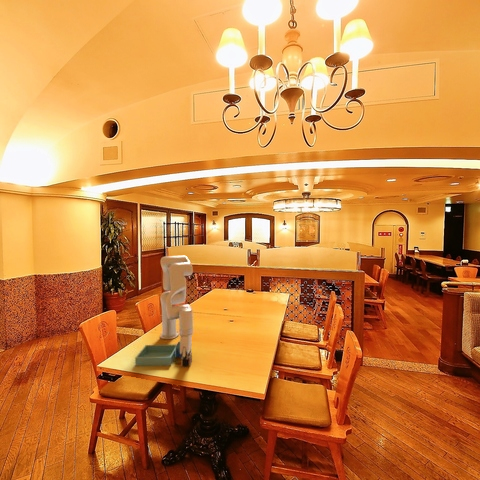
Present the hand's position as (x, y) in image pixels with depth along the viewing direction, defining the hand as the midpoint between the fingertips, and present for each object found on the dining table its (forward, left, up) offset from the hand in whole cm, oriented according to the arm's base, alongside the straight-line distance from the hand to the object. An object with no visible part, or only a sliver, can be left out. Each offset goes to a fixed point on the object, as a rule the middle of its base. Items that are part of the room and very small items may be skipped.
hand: (186, 362), depth 141 cm
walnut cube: (0, 0, -1) cm, 1 cm away
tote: (-6, -18, -1) cm, 19 cm away
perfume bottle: (-9, -4, -1) cm, 10 cm away
